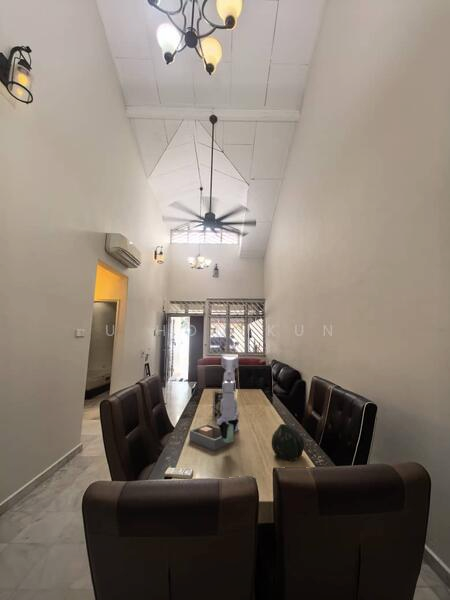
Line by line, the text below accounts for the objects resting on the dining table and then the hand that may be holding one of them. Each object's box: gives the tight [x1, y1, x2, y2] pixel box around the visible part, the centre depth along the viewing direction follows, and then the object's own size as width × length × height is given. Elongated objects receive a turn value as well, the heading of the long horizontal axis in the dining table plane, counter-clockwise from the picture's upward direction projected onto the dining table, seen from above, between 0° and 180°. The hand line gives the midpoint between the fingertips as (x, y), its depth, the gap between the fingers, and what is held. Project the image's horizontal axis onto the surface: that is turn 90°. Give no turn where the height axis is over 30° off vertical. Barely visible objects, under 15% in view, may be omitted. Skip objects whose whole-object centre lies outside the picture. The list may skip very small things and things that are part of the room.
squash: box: [271, 423, 305, 461], centre depth 122 cm, size 14×15×15 cm
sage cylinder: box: [223, 423, 234, 443], centre depth 125 cm, size 5×5×7 cm
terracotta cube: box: [199, 427, 213, 438], centre depth 138 cm, size 5×5×5 cm
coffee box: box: [211, 390, 223, 420], centre depth 176 cm, size 9×6×16 cm
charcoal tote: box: [189, 424, 233, 452], centre depth 136 cm, size 18×14×5 cm
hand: (227, 436), depth 125 cm, fingers closed on sage cylinder, 5 cm apart
